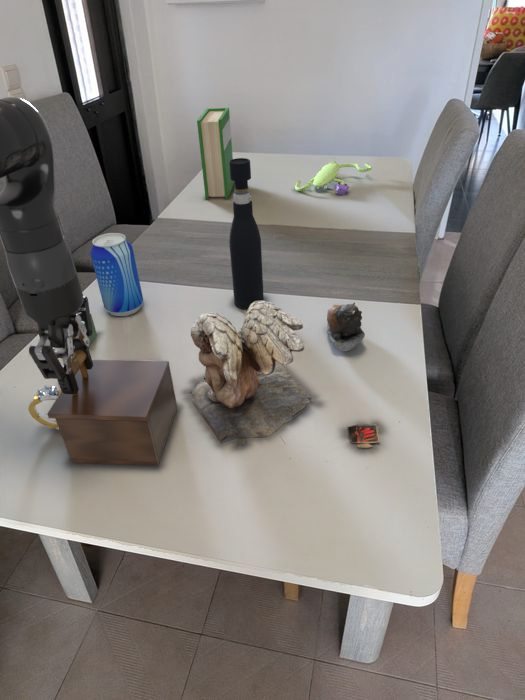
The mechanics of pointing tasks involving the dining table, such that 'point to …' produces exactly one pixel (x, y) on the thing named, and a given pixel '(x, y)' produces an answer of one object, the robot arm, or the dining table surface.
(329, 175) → the figurine
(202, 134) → the hardback book
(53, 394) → the ring
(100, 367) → the lid
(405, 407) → the dining table surface
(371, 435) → the matchbox
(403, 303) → the dining table surface
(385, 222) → the dining table surface
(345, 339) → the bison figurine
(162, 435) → the chest
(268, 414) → the cherub figurine
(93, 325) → the block
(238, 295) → the black bottle
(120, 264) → the beer can
